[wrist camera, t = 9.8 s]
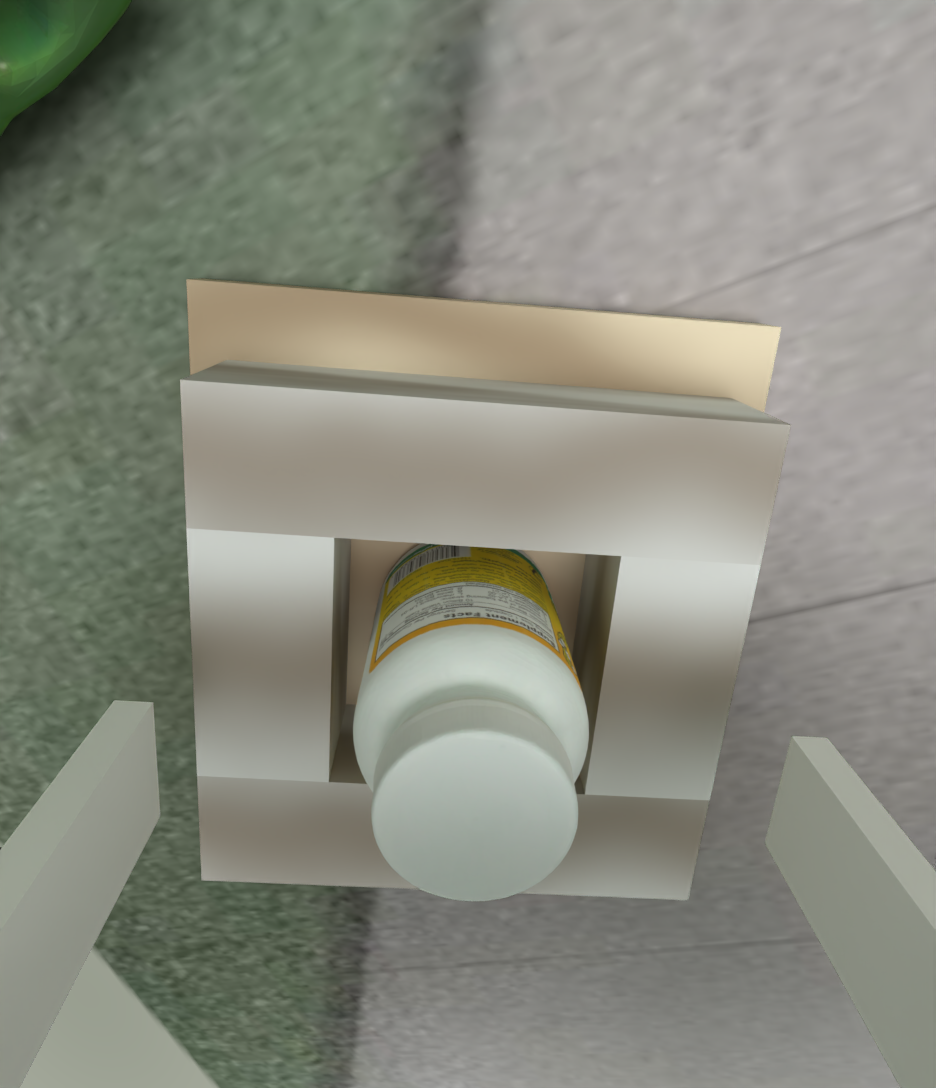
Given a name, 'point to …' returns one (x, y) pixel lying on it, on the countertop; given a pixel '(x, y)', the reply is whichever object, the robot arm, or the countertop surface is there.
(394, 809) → the supplement bottle
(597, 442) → the block
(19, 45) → the piggy bank
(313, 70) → the countertop surface
